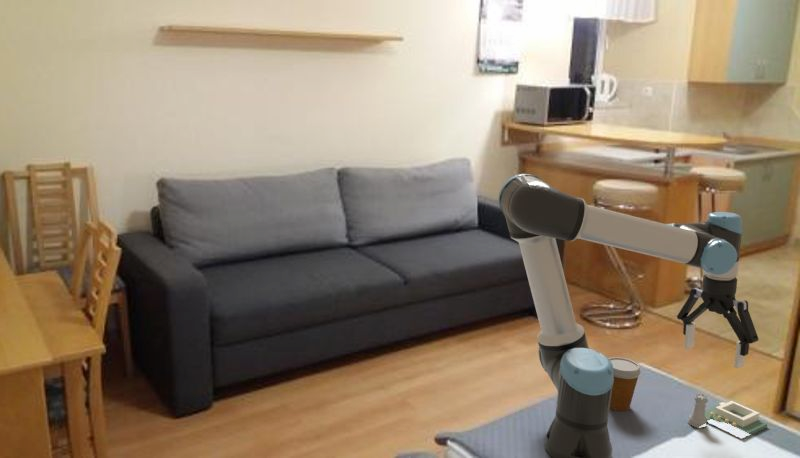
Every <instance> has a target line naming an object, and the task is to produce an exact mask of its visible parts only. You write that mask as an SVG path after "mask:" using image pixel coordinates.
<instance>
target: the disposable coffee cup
mask: <svg viewBox="0 0 800 458" xmlns="http://www.w3.org/2000/svg"><path fill="white" fill-rule="evenodd" d="M608 359H609V360H610V361H611V363H612V365H613V369H614V372H613V375H614V376H613V377H614V382H613V386H612V393H611V400H610V408H609V409H611V410H614V411H618V412H625V411H628V410H630V407H631V403H632V401H633V396H634V393H635V390H636V385H637V381H638V378H639V377H640V375H641V373H642V371H641V370H642V369H641V367H640V365H639V364H638V363H637V362H636V361H634V360H632V359H630V358H625V357H618V356H617V357H609V358H608Z"/></svg>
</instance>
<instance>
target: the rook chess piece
mask: <svg viewBox="0 0 800 458" xmlns="http://www.w3.org/2000/svg"><path fill="white" fill-rule="evenodd" d="M693 399H694V401H695V402H694V407H693V410H692V412H691V414H689V416H688V419H687V423H688V424H689V425H690V426H691V425H692V426H691V427H693V426H694V427H693V428H696V427H699V426H701V425H703V424H705V423H706V422H707V420H706V417H705V411H706V407H707V403H708V402H709V400H708V396H707V395H704V394H703V393H702V394H701V393H696V394H695V396H694V397H693ZM706 424H707V423H706Z"/></svg>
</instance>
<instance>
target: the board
mask: <svg viewBox="0 0 800 458" xmlns="http://www.w3.org/2000/svg"><path fill="white" fill-rule="evenodd" d="M705 417H706V420H710V419H713V420H716V421H719V422H725V423H727V424H728V423H729V424H731V425H732V426H734V427H737V428H739V429H741V430H743V431H745V432H747V433H749V434H752V435H754V434H757V433H758V432H760V431H762V430H764V429H766V428H768V423H767V422H765V421H762V420H760V419H759V418H760V412H758V411H756V410H754V409H752V408H749V407H747V406H746V405H742V404H740V403H738V402H735V401H733V400H730V401H728V402H724V401H721V402H719V403H718V404H717V406H715V407H712V408H710V409H707V410H705Z"/></svg>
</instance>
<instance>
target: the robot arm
mask: <svg viewBox="0 0 800 458" xmlns="http://www.w3.org/2000/svg"><path fill="white" fill-rule="evenodd" d="M498 206H499V209H500V210H501V213H502V214H503V215H504V217H505V220H506V224H507V225H506V226H507V229H508V232H509V236H510V239H512V240H514V241H516V242H518V245H519V250H520V253H521V256H522V261H523V265H524V268H525V271H526V276H527V280H528V285H529V288H530V292H531V296H532V299H533V304H534V308H535V311H536V315H537V318H538V322H539V326H540V331H539V332H538V333H537V335H536V339H537V343H538V358H539V359H538V360H539V362H540V364H541V367H542V368H543V371H544V372H545V373H547V375H548V377H549V378H550V380H551V382H552V383H553V386H555V389H556V390H557V397H556V398H557V399H556V409H555V416H554V417H553V420H552V422H551V424H550V426H549V428H548V429H547V432H546V434H545V438H544V439H545V440H544V449H545V450H546V452H547V454H548V455H549V456H551V458H612V457H613V456H612V455H613V445H612V443H611V439H610V433H609V428H608V422H609V421H608V420H609V413H610V409H611V408H610V400H611V393H612V386H613V382H614V377H613V376H614V375H613V372H614V369H613V365H612V363H611V361H610V360H609V358H608V357H607V356H606V355H605V354H603V353H601V352H598V351H597V350H595V349H591V348H590V347H589V344H588V341H587V340H588V339H587V336H586V332H585V328H584V326H582V325H581V324H579V323H577V322H576V318H575V313H574V309H573V305H572V300H571V296H570V292H569V289H568V284H567V280H566V277H565V272H564V268H563V265H562V260H561V256H560V252H559V248H558V244H557V243H558V242H557V240H556V239H558V240H563V241H567V242H573V241H576V240H577V239H580V240H584V241H588V242H592V243H595V244H600V245H603V246H604V245H605V246H608V247H613V248H616V249H617V248H618V249H621V250H626V251H630V252H632V253H633V252H634V253H638V254H643V255H646V256H651V257H654V258H655V257H656V258H659V259H662V260H663V259H664V260H668V261H672V262H676V263H679V264H685V265H687V266H690V267H694V268H695V267H696V268H699V269H703V274H704V275H703V276H702V285H701V286H702V287H701V288H702V289H701V288H700V286H699V287H698V286H697V287H694V288H691V289H690V290H689V296H688V298H687V300H686V301H685V302H684V304H683V306H682V307H681V309H680V310H679V312H678V314H677V315H676V318H677V320H681V321H682V323H683V330H682V331H683V332H682V333H683V335H684V339H685V340H684V349H685V350H690V349H692V348H694V347H695V334H696V323H695V320H696V319H698V318H699V317H700V316H701V315H702V314H703V313H705V312H706V311H707V310H708V311H709V312H711V313H716V314H717V315H723V318H725V319H726V320H727V322H728V323H729V325H730V327H731V328H732V330H733V332H734V333H735V335H736V337H737V339H738V340H739V341H736V345H735V348H736V349H735V356H734V366H733V367H734V368H735V369H739V368H742V367H744V366H745V357H746V356H747V355H748V354H749V352H750V351H749V350H750V344H753V343H757V342H758V341H759V337H758V333H757V330H756V328H755V324H754V321H753V319H752V317H751V313H750V311H749V302H748V301H747V300H745V299H744V300H743V301H741V300H737V299H736V293H737V287H738V278H737V277H738V275H739V273H738V272H739V264H740V263H739V262H740V252H741V244H742V243H741V242H742V235H743V220H742V219H743V218H742V217H741V215H739V214H738V213H734V212H728V211H715V212H710V213H709V214H708V215H707V218H706V221H702V222H686V223H685V222H681V223H680V222H679V223H675V222H672V223H662V222H659V221H654V220H651V219H646V218H643V217H638V216H633V215H630V214H627V213H623V212H618V211H614V210H610V209H605V208H602V207H598V206H595V205H590V204H587V203H586V201H585V199H584V198H582V197H577V196H573V195H571V194H568V193H566V192H564V191H561V190H560V189H558V188H556V187H555V186H552V185H551V184H549V183H548V182H546V181H544V180H543V179H542V178H541V177H539V176H537V175H534V174H529V173H528V174H527V173H521V174H520V173H519V174H516V175H513V176H511V177H510V178H508V179H507V180H506V181H505V182H504V183H503V185H502V186H501V188H500V190H499V193H498ZM699 298H701V299H702V301H703V302H702V303H701V304H700V305H698V307H696V308H695V310H693V308H694V306H695V305H696V303H697V301H698V300H699ZM734 307H735V308H734ZM692 310H693V311H692ZM736 310H737V311H736ZM691 311H692V312H691Z"/></svg>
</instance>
